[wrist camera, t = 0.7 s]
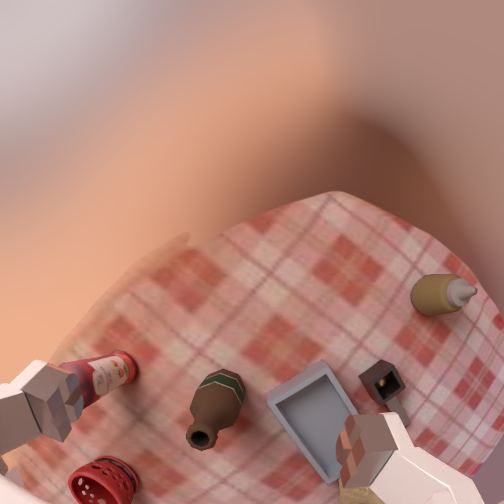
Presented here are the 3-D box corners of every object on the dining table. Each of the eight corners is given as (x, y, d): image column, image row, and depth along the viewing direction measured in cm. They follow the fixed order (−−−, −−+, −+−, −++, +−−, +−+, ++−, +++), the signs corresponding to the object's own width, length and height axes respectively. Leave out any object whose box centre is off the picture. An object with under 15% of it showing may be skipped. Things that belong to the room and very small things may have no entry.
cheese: (373, 496, 49) (413, 476, 41) (362, 520, 43) (404, 505, 35) (322, 472, 54) (355, 449, 46) (308, 496, 48) (341, 479, 41)
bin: (372, 439, 50) (382, 451, 44) (322, 470, 49) (327, 484, 43) (321, 359, 53) (328, 365, 47) (266, 393, 53) (266, 403, 47)
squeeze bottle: (411, 322, 54) (463, 326, 36) (400, 284, 55) (449, 275, 37) (441, 306, 54) (496, 304, 36) (430, 270, 55) (483, 257, 38)
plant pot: (95, 441, 51) (68, 461, 39) (147, 468, 50) (127, 494, 38) (89, 478, 49) (65, 500, 37) (138, 503, 48) (119, 530, 36)
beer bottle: (244, 367, 54) (232, 410, 30) (246, 406, 52) (236, 467, 29) (202, 367, 54) (163, 407, 30) (205, 405, 53) (171, 463, 29)
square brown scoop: (411, 414, 50) (424, 423, 44) (390, 430, 50) (401, 441, 44) (381, 359, 53) (393, 364, 47) (358, 376, 52) (368, 383, 47)
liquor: (105, 349, 55) (11, 370, 27) (136, 347, 55) (48, 373, 27) (111, 383, 54) (23, 423, 26) (142, 383, 54) (62, 431, 26)
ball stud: (386, 379, 52) (392, 383, 49) (373, 389, 52) (379, 393, 49) (379, 367, 53) (385, 370, 49) (366, 377, 52) (371, 381, 49)
